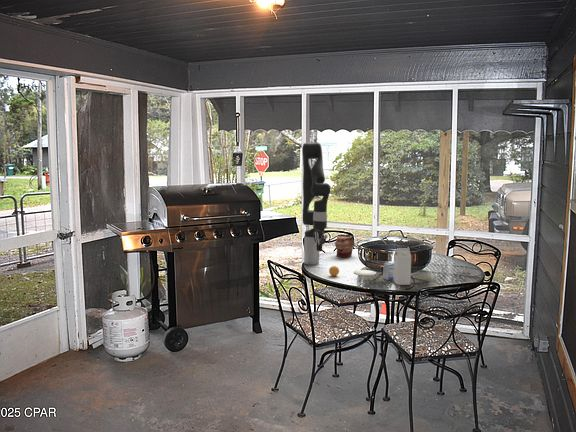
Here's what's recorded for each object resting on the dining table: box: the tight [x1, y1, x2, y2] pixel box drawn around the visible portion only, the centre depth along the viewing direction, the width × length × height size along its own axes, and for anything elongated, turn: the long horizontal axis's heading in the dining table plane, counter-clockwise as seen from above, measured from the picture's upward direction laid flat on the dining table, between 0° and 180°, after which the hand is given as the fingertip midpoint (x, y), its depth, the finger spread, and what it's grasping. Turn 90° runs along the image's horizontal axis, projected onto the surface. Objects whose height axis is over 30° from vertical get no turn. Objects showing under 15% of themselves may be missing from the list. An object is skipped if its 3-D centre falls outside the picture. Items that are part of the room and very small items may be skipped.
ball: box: [328, 265, 340, 277], centre depth 281 cm, size 6×6×6 cm
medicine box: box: [382, 262, 394, 281], centre depth 276 cm, size 8×4×9 cm, turn 117°
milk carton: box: [392, 247, 412, 286], centre depth 266 cm, size 7×7×19 cm
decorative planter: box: [334, 234, 355, 258], centre depth 334 cm, size 20×12×14 cm, turn 159°
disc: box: [353, 269, 377, 277], centre depth 289 cm, size 13×13×1 cm
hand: (319, 250), depth 276 cm, fingers closed
